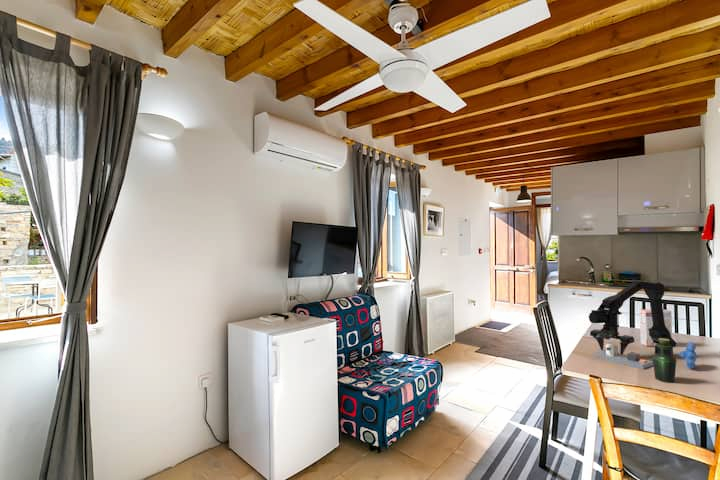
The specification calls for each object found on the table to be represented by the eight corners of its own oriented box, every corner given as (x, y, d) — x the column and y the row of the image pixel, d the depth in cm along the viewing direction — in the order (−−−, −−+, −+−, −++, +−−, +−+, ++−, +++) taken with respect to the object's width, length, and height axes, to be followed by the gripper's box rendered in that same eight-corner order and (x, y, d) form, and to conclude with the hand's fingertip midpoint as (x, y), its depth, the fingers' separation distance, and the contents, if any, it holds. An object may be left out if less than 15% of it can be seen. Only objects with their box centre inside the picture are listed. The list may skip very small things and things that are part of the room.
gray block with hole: (652, 365, 177) (652, 355, 177) (643, 369, 172) (642, 358, 172) (604, 353, 196) (604, 344, 196) (594, 356, 191) (594, 347, 191)
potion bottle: (665, 376, 163) (664, 336, 163) (682, 383, 155) (681, 341, 155) (648, 376, 163) (647, 337, 163) (663, 383, 155) (663, 342, 155)
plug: (617, 358, 188) (617, 345, 188) (611, 360, 185) (611, 347, 185) (610, 356, 191) (610, 343, 191) (603, 358, 188) (603, 345, 188)
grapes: (680, 362, 180) (679, 338, 180) (698, 365, 175) (698, 341, 175) (678, 368, 172) (677, 343, 172) (697, 372, 167) (697, 346, 167)
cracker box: (665, 344, 211) (664, 308, 211) (672, 347, 205) (672, 310, 205) (639, 344, 212) (639, 308, 212) (646, 347, 206) (646, 310, 206)
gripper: (584, 321, 192) (584, 350, 192) (623, 328, 176) (624, 360, 176) (595, 318, 198) (595, 347, 198) (634, 325, 182) (635, 356, 182)
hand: (611, 352), depth 188 cm, fingers open, 9 cm apart
